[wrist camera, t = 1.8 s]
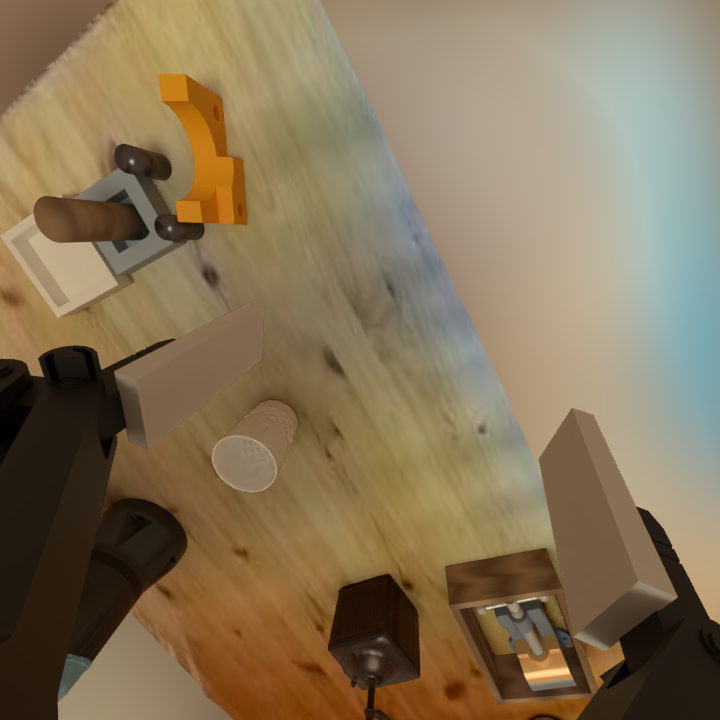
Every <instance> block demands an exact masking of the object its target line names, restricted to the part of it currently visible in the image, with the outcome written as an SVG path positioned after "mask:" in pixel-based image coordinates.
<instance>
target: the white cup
mask: <svg viewBox="0 0 720 720" xmlns="http://www.w3.org/2000/svg"><path fill="white" fill-rule="evenodd" d="M297 428H298V420H297V416H296V414H295V412H294V411H293V410H292V409H291V408H290V406H288V405H286V404H285V403H283V402H281V401H276V400H267V401H264V402H261V403H259V404H258V405H257V406H256V407H255V408H254V409H253V410H252V411H251V412H250V413H248V414H247V415H246V416H245V417H244V418H242V419H241V420H240V421H239V422H238V423H237V424H236V425H235V426H234V427H233V428H232V429H231V430H230V431H229V432H228V433H227V434H226V435H225V436H224V437H223V438H222V439H221V440H220V441H219V442H218V443H217V444H216V445H215V447H214V449H213V452H212V463H213V466H214V469H215V471H216V473H217V474H218V475H219V477H220V478H221V479H222V480H223V481H224V482H225V483H227V484H228V485H230V486H231V487H233V488H235V489H237V490H240V491H244V492H259V491H262V490H265V489H267V488H268V487H269V486H271V485H272V483H273V482H274V481H275V479H276V476H277V474H278V472H279V470H280V468H281V466H282V464H283V462H284V460H285V458H286V456H287V453H288V451H289V449H290V447H291V444H292V442H293V439H294V437H295V435H296V432H297Z"/></svg>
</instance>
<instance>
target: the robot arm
mask: <svg viewBox="0 0 720 720" xmlns="http://www.w3.org/2000/svg"><path fill="white" fill-rule="evenodd" d="M264 309H265V307H262V306H259V305H256V304H253V303H250V302H249V303H247V304H245V305H243V306H241V307H239V308H237V309H235V310H233V311H231V312H230V313H228V314H226V315H224V316H222V317H220V318H218V319H216V320H214V321H212V322H210V323H208V324H206V325H204V326H202V327H200V328H198V329H196V330H194V331H192V332H190V333H188V334H186V335H184V336H182V337H180V338H178V339H177V340H176V339H170V340H166V341H161V342H158V343H156V344H154V345H152V346H150V347H147V348H146V349H145V350H141V351H139V352H137V353H136V354H135V355H131V356H129V357H127V358H125V359H123V360H121V361H119V362H117V363H115V364H113V365H111V366H109V367H107V368H105V369H103V370H101V367H100V363H99V359H98V354H97V352H96V351H95V350H94V349H93V348H89V347H86V346H65V347H60V348H56V349H52V350H50V351H48V352H46V353H43V354H42V355H41V356H40V357H39V358H38V359H39V362H40V365H41V368H42V371H43V374H44V377H38V376H31V375H30V372H29V370H28V367H27V364H26V363H24V362H23V361H20V360H15V359H0V720H58V704H57V703H58V701H60V700H61V699H62V698H63V697H64V696H65V695H66V694H67V693H68V692H69V690H70V689H71V688H72V687H73V685H74V684H75V683H76V681H77V680H78V679H79V678H80V676H81V675H82V674H83V673H84V671H86V670H87V669H89V667H90V666H91V664H92V661H93V660H94V659H95V658H96V656H97V655H98V653H99V652H100V651H101V649H102V648H103V647H104V645H105V644H106V643H107V641H108V640H109V638H110V637H111V636H112V634H113V633H114V632H115V630H116V629H117V627H118V626H119V625H120V623H121V622H122V621H123V619H124V618H125V617H126V615H127V614H128V613H129V611H130V610H131V608H132V607H133V606H134V604H135V603H136V602H137V600H138V599H139V598H140V596H141V595H142V594H143V593H144V592H145V591H146V590H147V589H149V588H150V587H151V586H152V585H153V584H155V583H156V582H157V581H158V580H160V579H161V578H162V577H163V576H165V575H166V574H167V573H168V572H170V571H171V570H172V569H173V568H174V567H175V566H176V565H177V563H178V562H179V560H180V559H181V558H182V556H183V555H184V553H185V551H186V546H187V543H186V537H185V534H184V532H183V530H182V528H181V526H180V525H179V523H178V522H177V521H176V520H175V519H174V518H173V517H172V516H171V515H170V514H169V513H168V512H166V511H165V510H163V509H162V508H160V507H159V506H157V505H155V504H152V503H150V502H147V501H143V500H138V499H126V500H121V501H119V502H117V503H115V504H114V505H113V506H111V507H110V508H109V509H108V510H107V511H106V512H105V513H104V514H103V515H102V516H101V517H100V514H101V510H102V505H103V501H104V497H105V493H106V488H107V484H108V480H109V476H110V472H111V467H112V463H113V459H114V455H115V450H116V446H117V436H116V434H117V433H119V432H120V431H122V430H123V429H125V428H126V430H127V435H128V440H129V441H130V442H132V443H134V444H136V445H139V446H141V447H143V448H146V449H150V448H151V447H152V446H153V445H155V444H156V443H157V442H158V441H160V440H161V439H162V438H163V437H165V436H166V435H167V434H168V433H170V432H171V431H172V430H174V429H175V428H176V427H177V426H179V425H180V424H181V423H182V422H184V421H185V420H186V419H187V418H189V417H190V416H191V415H192V414H194V413H195V412H196V411H197V410H199V409H200V408H201V407H203V406H204V405H205V404H206V403H208V402H209V401H210V400H211V399H213V398H214V397H215V396H216V395H218V394H219V393H220V392H221V391H223V390H224V389H225V388H226V387H228V386H229V385H230V384H232V383H233V382H234V381H235V380H237V379H238V378H239V377H240V376H242V375H243V374H244V373H245V372H247V371H248V370H249V369H250V368H252V367H253V366H254V365H255V364H257V363H258V362H259V361H261V360H262V346H263V327H264ZM539 463H540V468H541V473H542V478H543V484H544V489H545V494H546V499H547V504H548V509H549V514H550V520H551V525H552V530H553V535H554V540H555V545H556V551H557V556H558V561H559V566H560V571H561V576H562V581H563V587H564V592H565V597H566V602H567V607H568V612H569V618H570V623H571V628H572V633H573V637H574V638H577V639H579V640H581V641H583V642H586V643H588V644H590V645H592V646H595V647H597V648H599V649H601V650H604V651H606V650H607V649H609V648H610V647H611V646H613V645H614V644H615V643H617V642H618V641H620V644H621V647H622V651H623V654H624V657H625V659H624V660H623V661H621V662H620V663H618V664H617V665H615V666H614V667H613V668H611V669H610V670H608V671H607V672H605V673H604V674H602V675H601V676H600V678H601V679H602V680H603V681H604V683H603V684H602V686H601V687H600V688H599V690H598V691H597V692H596V694H595V695H594V696H593V698H592V699H591V701H590V702H589V703H588V705H587V706H586V707H585V709H584V710H583V712H582V713H581V714H580V716H579V717H578V718H577V720H720V625H719V624H718V623H717V622H715V621H713V620H711V619H710V618H709V616H708V614H707V612H706V610H705V608H704V606H703V604H702V603H701V601H700V599H699V597H698V595H697V593H696V591H695V589H694V587H693V585H692V583H691V581H690V579H689V577H688V576H687V573H686V572H685V570H684V568H683V566H682V564H680V563H679V561H680V560H679V558H678V556H677V554H676V552H675V550H674V549H672V544H671V543H670V540H669V538H668V537H667V535H666V533H665V531H664V529H663V528H662V527H661V525H660V524H659V523H658V522H657V521H656V519H655V518H654V517H653V516H652V515H651V514H650V512H649V511H647V510H644V509H641V508H639V507H636V506H635V504H634V501H633V499H632V497H631V495H630V493H629V491H628V489H627V487H626V484H625V482H624V480H623V478H622V476H621V474H620V471H619V469H618V467H617V465H616V463H615V461H614V458H613V456H612V454H611V452H610V450H609V448H608V446H607V444H606V441H605V439H604V437H603V435H602V433H601V431H600V429H599V426H598V424H597V422H596V420H595V418H594V415H592V414H589V413H585V412H582V411H579V410H576V409H573V408H572V409H571V410H570V412H569V413H568V415H567V416H566V418H565V419H564V421H563V422H562V424H561V426H560V427H559V429H558V430H557V432H556V433H555V435H554V437H553V438H552V439H551V441H550V442H549V444H548V445H547V447H546V449H545V450H544V452H543V453H542V455H541V456H540V458H539ZM99 518H100V519H99Z"/></svg>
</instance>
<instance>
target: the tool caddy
mask: <svg viewBox="0 0 720 720" xmlns="http://www.w3.org/2000/svg"><path fill="white" fill-rule="evenodd" d="M446 577H447V587H448V597H449V606H450V608H451V610H452V612H453V614H454V616H455V618H456V620H457V622H458V624H459V626H460V628H461V630H462V632H463V634H464V636H465V638H466V640H467V642H468V644H469V646H470V648H471V650H472V652H473V654H474V657H475V659H476V661H477V663H478V665H479V667H480V669H481V671H482V673H483V675H484V677H485V679H486V681H487V683H488V685H489V687H490V689H491V691H492V693H493V695H494V697H495V699H496V701H497V703H498V704H507V703H521V702H536V701H550V700H564V699H578V698H592V697H593V696H594V695H595V694H596V692H597V691H598V687H597V684H596V682H595V679H594V676H593V673H592V670H591V668H590V665H589V662H588V659H587V656H586V654H585V651H584V648H583V645H582V642H581V640H579V639H577V638H574V637H573V633H572V628H571V623H570V618H569V612H568V607H567V602H566V597H565V595H564V592H563V589H562V586H561V584H560V582H559V579H558V577H557V575H556V572H555V570H554V567H553V565H552V563H551V560H550V558H549V556H548V553H547V551H546V548H544V549H539V550H533V551H528V552H522V553H517V554H512V555H506V556H501V557H495V558H490V559H484V560H479V561H474V562H468V563H463V564H457V565H452V566H446ZM551 595H555V596H556V599H557V602H558V605H559V607H560V610H561V613H562V616H563V618H564V621H565V624H566V626H567V629H568V632H569V635H570V637H571V640H572V643H573V646H574V647H572V648H565V652H566V654H567V657H568V660H569V663H570V665H571V668H572V671H573V674H574V676H575V679H576V682H577V686H571V687H563V688H556V689H548V690H540V691H533V690H532V689H531V687H530V685H529V684H528V682H527V680H526V678H525V675H524V672H523V670H522V667H521V664H520V660H519V658H518V656H517V654H508V655H498V656H494V655H493V653H492V651H491V648H490V646H489V644H488V642H487V640H486V638H485V636H484V633H483V631H482V629H481V627H480V625H479V623H478V621H477V619H476V616H475V614H474V612H473V610H472V608H471V607H477V606H483V605H490V604H497V603H504V602H510V601H517V600H524V599H531V598H537V597H544V596H551Z"/></svg>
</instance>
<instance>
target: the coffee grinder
mask: <svg viewBox="0 0 720 720" xmlns="http://www.w3.org/2000/svg"><path fill="white" fill-rule="evenodd" d="M328 651H329V652H330V653H331V654H332V656H333V657H334V658H335V659H336V661H337V662H338V663H339V664H340V665H341V666H342V669H343V671H344V673H345V674H346V675H347V676H348V677H349V678H350V679H351V680H352V681H351V686H352V687H355V685H356V684H357V685H358V686H359V687H360V688H361V689H362V690H366V689H368V702H367V708H366V709H364V713H365V717H366V720H373V719H374V718H378V719H380V720H391V719H390V718H389V717H388V716H387V715H386V714H385V713H384V712H382V711H381V710H375V709H374V694H375V688H377V687H382V686H387V685H391V684H396V683H401V682H405V681H409V680H413V679H416V678H420V648H419V625H418V613H417V611H416V609H415V607H414V605H413V604H412V602H411V601H410V600H409V598H408V597H407V596H406V594H405V593H404V592H403V590H402V589H401V588H400V587H399V585H398V584H397V583H396V582H395V581H394V579H393V578H392V577H391V576H390V575H389V574H387V575H383V576H378V577H375V578H372V579H368V580H365V581H362V582H358V583H355V584H352V585H349V586H346V587H343V588H342V589H340V590H339V596H338V600H337V605H336V610H335V615H334V620H333V625H332V630H331V635H330V640H329V645H328Z"/></svg>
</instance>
